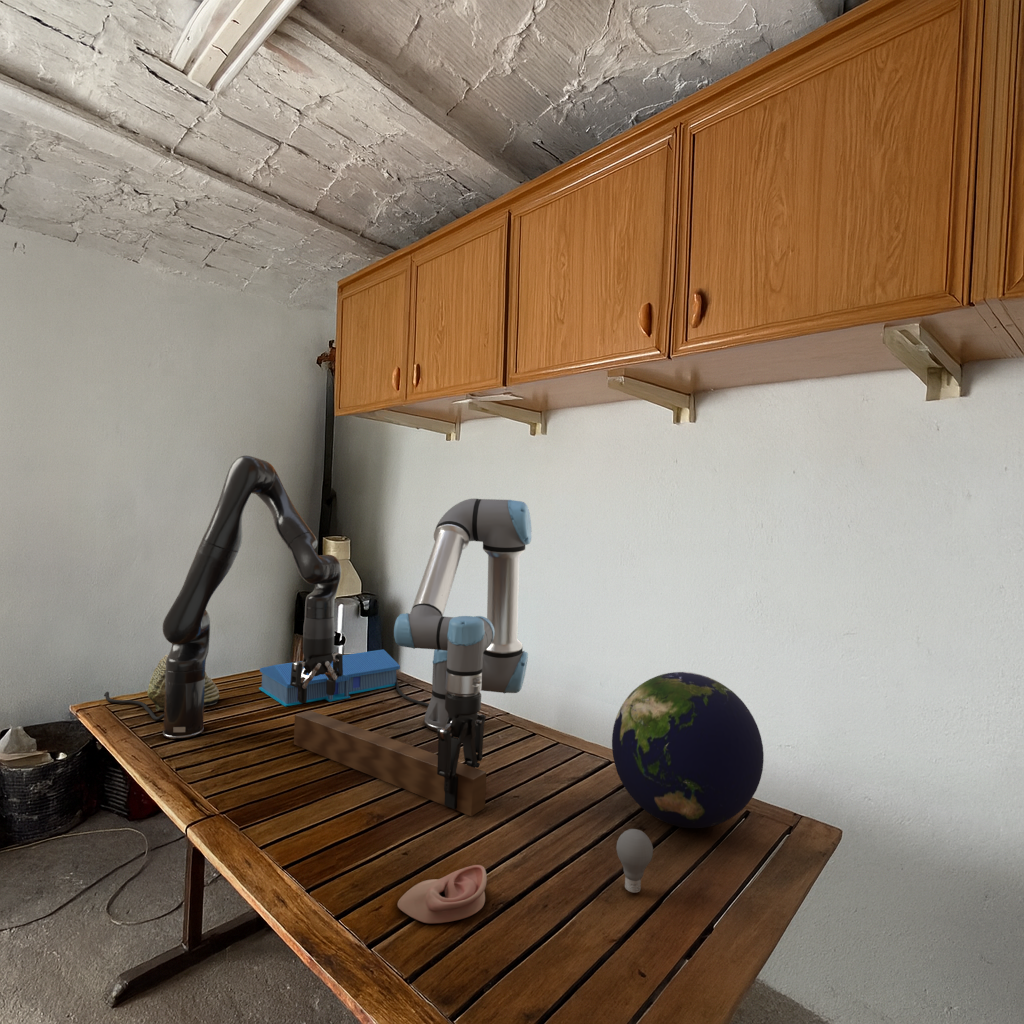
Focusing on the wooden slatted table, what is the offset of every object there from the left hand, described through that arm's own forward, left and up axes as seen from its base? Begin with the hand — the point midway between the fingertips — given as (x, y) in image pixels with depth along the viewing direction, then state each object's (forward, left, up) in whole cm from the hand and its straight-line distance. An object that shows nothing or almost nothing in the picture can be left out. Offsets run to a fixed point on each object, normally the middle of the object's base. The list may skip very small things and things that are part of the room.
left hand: (316, 698), depth 160 cm
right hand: (+46, +10, -12) cm, 48 cm away
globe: (+80, +41, -12) cm, 91 cm away
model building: (-41, +26, -12) cm, 51 cm away
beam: (+23, +5, -12) cm, 26 cm away
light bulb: (+87, +14, -12) cm, 89 cm away
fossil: (-50, -16, -12) cm, 54 cm away
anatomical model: (+70, -13, -12) cm, 72 cm away
